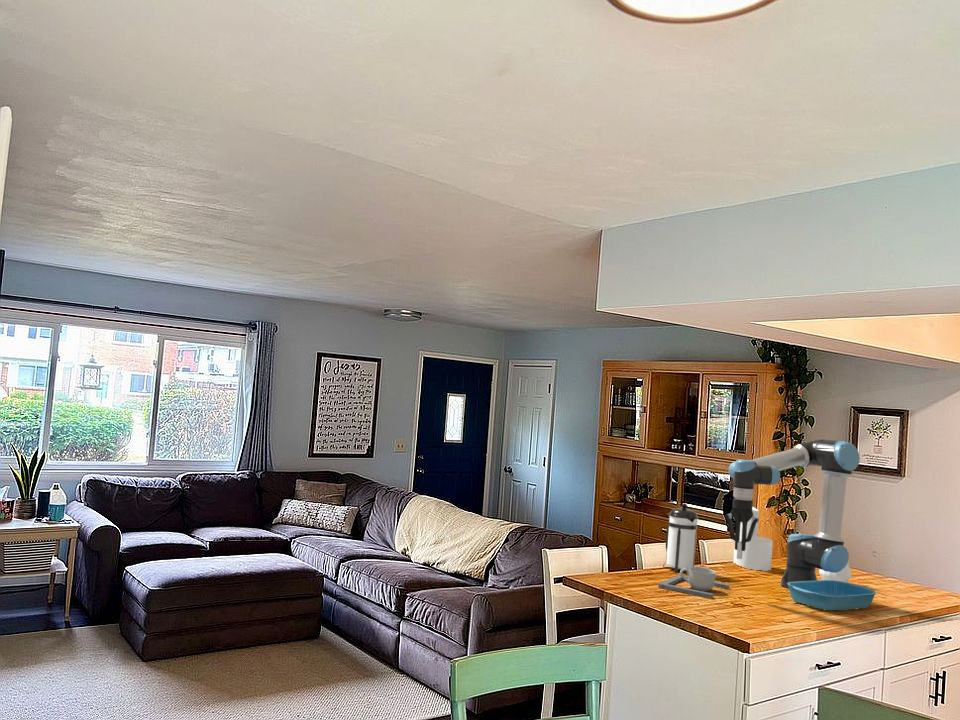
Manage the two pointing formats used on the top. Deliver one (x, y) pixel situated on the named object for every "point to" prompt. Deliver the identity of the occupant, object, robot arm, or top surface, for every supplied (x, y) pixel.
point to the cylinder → (755, 549)
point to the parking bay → (669, 585)
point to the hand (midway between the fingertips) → (739, 558)
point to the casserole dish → (831, 594)
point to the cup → (837, 574)
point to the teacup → (700, 578)
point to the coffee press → (681, 538)
